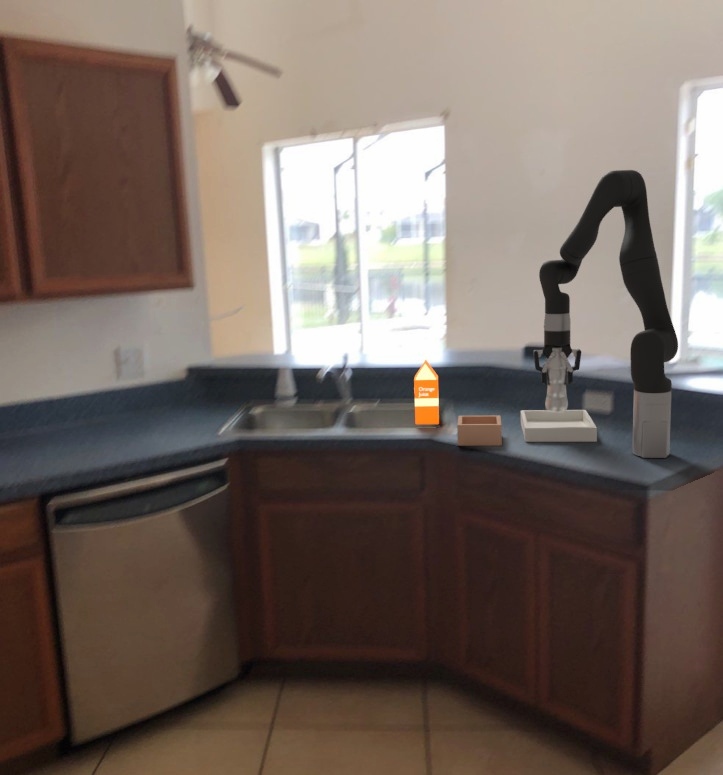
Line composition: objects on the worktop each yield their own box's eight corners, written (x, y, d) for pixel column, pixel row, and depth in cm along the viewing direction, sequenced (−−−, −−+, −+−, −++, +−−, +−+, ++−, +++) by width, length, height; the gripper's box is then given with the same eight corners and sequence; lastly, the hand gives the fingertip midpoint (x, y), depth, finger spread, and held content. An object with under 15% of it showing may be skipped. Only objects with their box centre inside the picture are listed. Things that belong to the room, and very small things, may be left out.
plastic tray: (596, 441, 219) (596, 427, 218) (525, 441, 222) (525, 428, 221) (585, 422, 242) (585, 409, 242) (520, 422, 245) (520, 410, 245)
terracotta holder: (501, 445, 219) (501, 424, 218) (457, 445, 221) (457, 425, 220) (500, 434, 231) (500, 415, 230) (458, 434, 233) (458, 415, 232)
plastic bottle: (540, 411, 233) (540, 346, 229) (559, 409, 235) (559, 344, 232) (553, 415, 227) (553, 348, 223) (572, 413, 229) (572, 346, 226)
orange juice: (439, 418, 257) (437, 358, 253) (439, 424, 248) (437, 362, 244) (415, 418, 258) (414, 359, 254) (414, 424, 249) (413, 363, 245)
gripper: (533, 330, 224) (533, 387, 227) (584, 329, 222) (583, 386, 225) (531, 327, 231) (531, 382, 234) (580, 326, 229) (580, 381, 232)
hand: (557, 384), depth 229 cm, fingers closed on plastic bottle, 6 cm apart
